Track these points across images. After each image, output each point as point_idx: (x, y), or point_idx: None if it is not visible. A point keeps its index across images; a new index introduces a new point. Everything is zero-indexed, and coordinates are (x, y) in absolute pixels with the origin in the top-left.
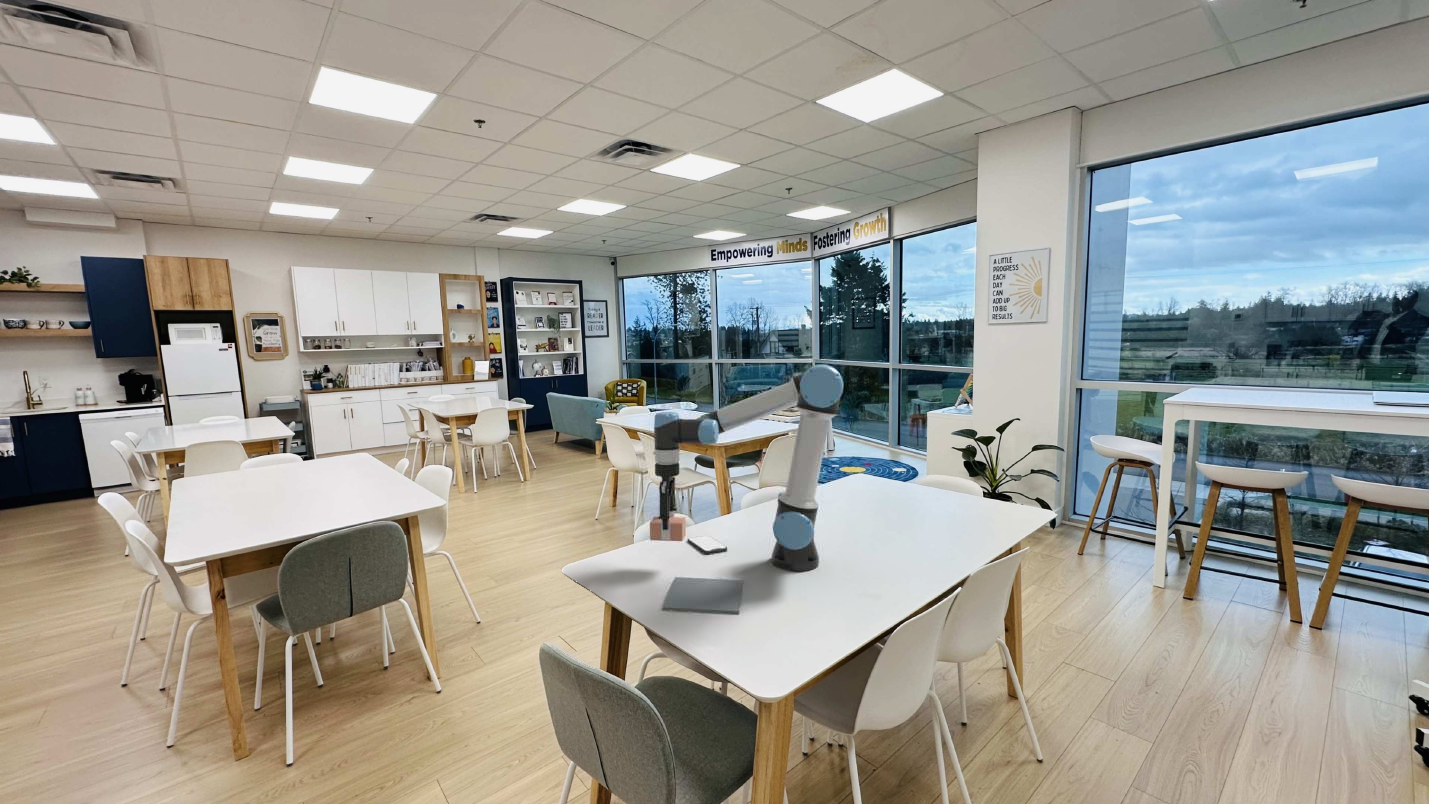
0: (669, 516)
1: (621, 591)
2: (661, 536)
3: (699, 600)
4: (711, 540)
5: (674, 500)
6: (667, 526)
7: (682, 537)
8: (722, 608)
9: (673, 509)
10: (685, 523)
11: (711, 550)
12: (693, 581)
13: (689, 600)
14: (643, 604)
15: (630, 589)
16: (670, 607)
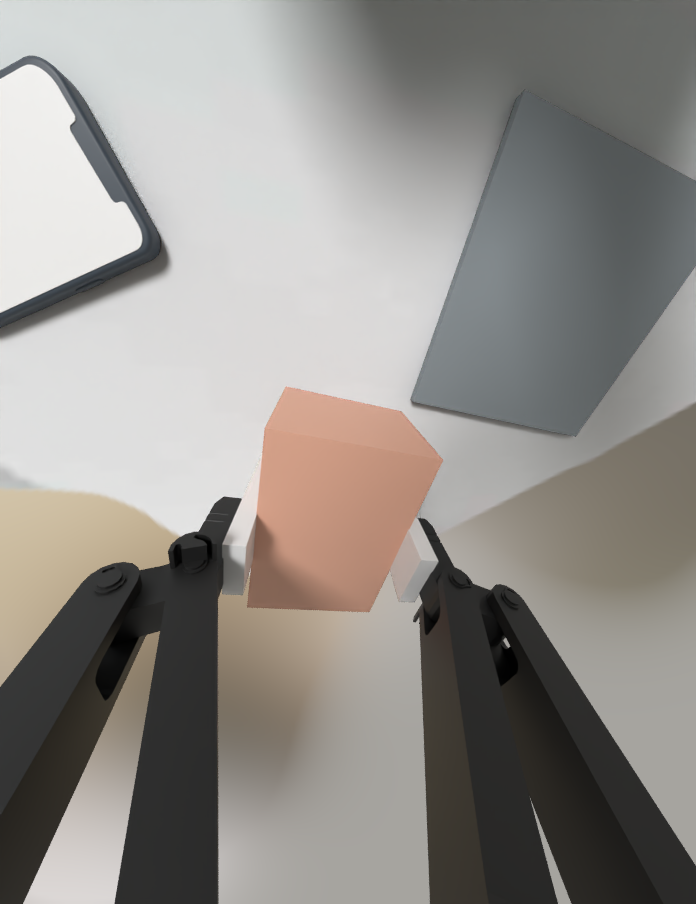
0: (460, 582)
1: (443, 514)
2: None
3: (594, 338)
4: None
5: (88, 667)
6: (425, 531)
7: (398, 416)
8: (682, 266)
9: (217, 568)
10: (283, 410)
11: (131, 206)
12: (462, 345)
13: (578, 368)
14: (522, 471)
15: (439, 500)
16: (586, 418)
